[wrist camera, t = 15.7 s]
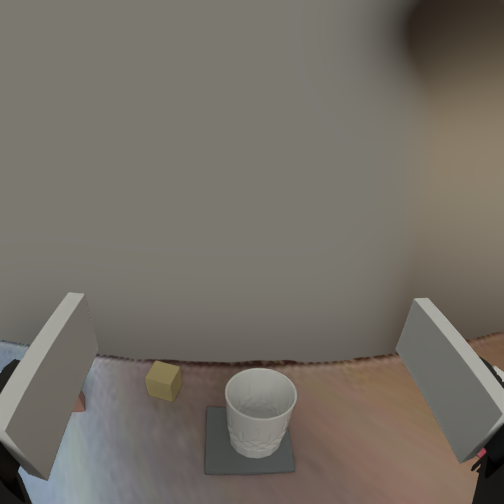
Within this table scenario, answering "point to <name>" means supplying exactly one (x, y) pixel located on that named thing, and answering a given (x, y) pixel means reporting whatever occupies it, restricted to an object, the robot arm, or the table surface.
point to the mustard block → (164, 381)
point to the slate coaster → (232, 463)
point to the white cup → (258, 410)
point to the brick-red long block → (79, 403)
